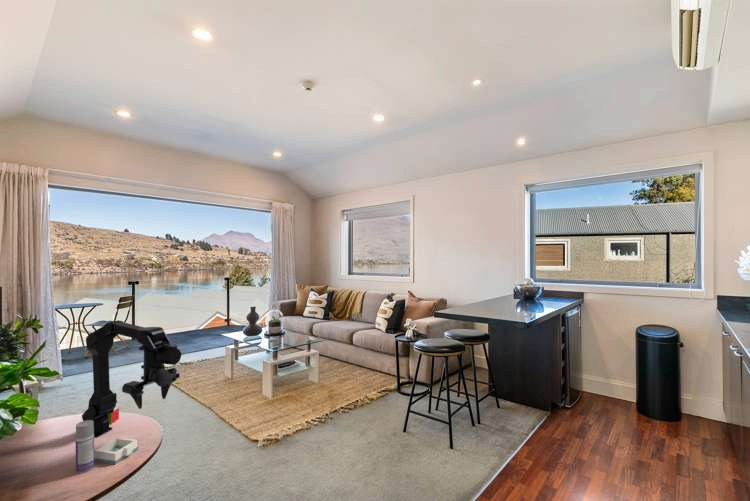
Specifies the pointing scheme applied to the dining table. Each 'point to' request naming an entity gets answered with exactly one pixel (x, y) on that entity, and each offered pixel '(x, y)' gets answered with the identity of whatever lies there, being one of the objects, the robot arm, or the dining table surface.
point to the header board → (115, 450)
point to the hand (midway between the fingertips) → (152, 403)
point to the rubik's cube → (114, 416)
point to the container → (84, 446)
